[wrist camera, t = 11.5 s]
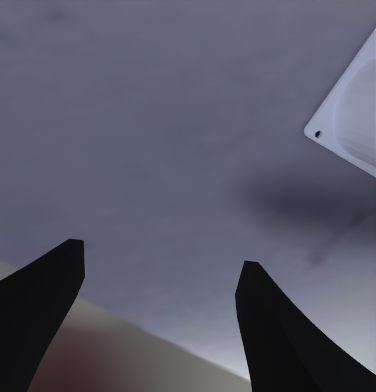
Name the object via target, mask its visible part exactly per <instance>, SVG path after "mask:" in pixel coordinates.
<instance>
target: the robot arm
mask: <svg viewBox="0 0 376 392" xmlns="http://www.w3.org/2000/svg"><path fill="white" fill-rule="evenodd" d="M317 131H320V135H319V136H318V137H315V133H316V132H317ZM304 134H305V135H306V136H307V137H308V138H310V139H312V140H313V141H315V142H317V143H319V144H320V145H322V146H324V147H325V148H327V149H329V150H330V151H332V152H334V153H335V154H337V155H339V156H340V157H342V158H344V159H345V160H347V161H349V162H350V163H352V164H354V165H355V166H357V167H359V168H360V169H362V170H364V171H366V172H367V173H369V174H371V175H372V176H374V177H376V28H375V30H374V31H373V33H372V34H371V35H370V37H369V38H368V40H367V41H366V42H365V44H364V45H363V47H362V48H361V49H360V51H359V52H358V54H357V55H356V56H355V58H354V59H353V61H352V62H351V63H350V65H349V66H348V68H347V69H346V71H345V72H344V73H343V75H342V76H341V78H340V79H339V80H338V82H337V83H336V85H335V86H334V87H333V89H332V90H331V92H330V93H329V94H328V96H327V97H326V99H325V100H324V101H323V103H322V104H321V106H320V107H319V109H318V110H317V111H316V113H315V114H314V116H313V117H312V118H311V120H310V121H309V123H308V124H307V125H306V127H305V129H304ZM84 278H85V266H84V240H76V239H68V240H67V241H65V242H63V243H62V244H60V245H59V246H57V247H55V248H54V249H52V250H51V251H49V252H48V253H46V254H45V255H43V256H41V257H40V258H38V259H37V260H35V261H33V262H32V263H30V264H28V265H27V266H25V267H23V268H22V269H20V270H18V271H16V272H15V273H13V274H11V275H9V276H8V277H6V278H4V279H2V280H0V392H27V390H28V388H29V385H30V383H31V381H32V379H33V377H34V374H35V373H36V370H37V368H38V366H39V364H40V362H41V360H42V358H43V356H44V354H45V352H46V350H47V348H48V346H49V345H50V343H51V341H52V339H53V338H54V336H55V334H56V332H57V330H58V328H59V327H60V325H61V323H62V322H63V320H64V318H65V317H66V315H67V313H68V311H69V310H70V308H71V306H72V304H73V303H74V301H75V299H76V297H77V295H78V292H79V290H80V288H81V285H82V283H83V280H84ZM235 300H236V311H237V319H238V323H239V328H240V333H241V337H242V342H243V346H244V351H245V355H246V360H247V364H248V369H249V374H250V380H251V386H252V392H376V375H375V374H374V373H372V372H371V371H370V370H368V369H367V368H366V367H364V366H363V365H362V364H360V363H359V362H358V361H356V360H355V359H354V358H353V357H351V356H350V355H349V354H348V353H346V352H345V351H344V350H343V349H341V348H340V347H339V346H338V345H336V344H335V343H334V342H333V341H332V340H331V339H329V338H328V337H327V336H326V335H325V334H324V333H323V332H322V331H321V330H320V329H318V328H317V327H316V326H315V325H314V324H313V323H312V322H311V321H310V320H309V319H308V318H307V317H306V316H305V315H304V314H303V313H302V312H301V311H300V310H299V309H298V308H297V307H296V306H295V305H294V304H293V302H292V301H291V300H290V299H289V298H288V297H287V296H286V295H285V294H284V292H283V291H282V290H281V289H280V288H279V287H278V285H277V284H276V283H275V282H274V281H273V279H272V278H271V277H270V276H269V275H268V273H267V272H266V271H265V270H264V269H263V267H262V266H261V265H260V264H259V263H258V262H253V261H244V265H243V268H242V272H241V275H240V279H239V282H238V286H237V289H236V293H235Z"/></svg>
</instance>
